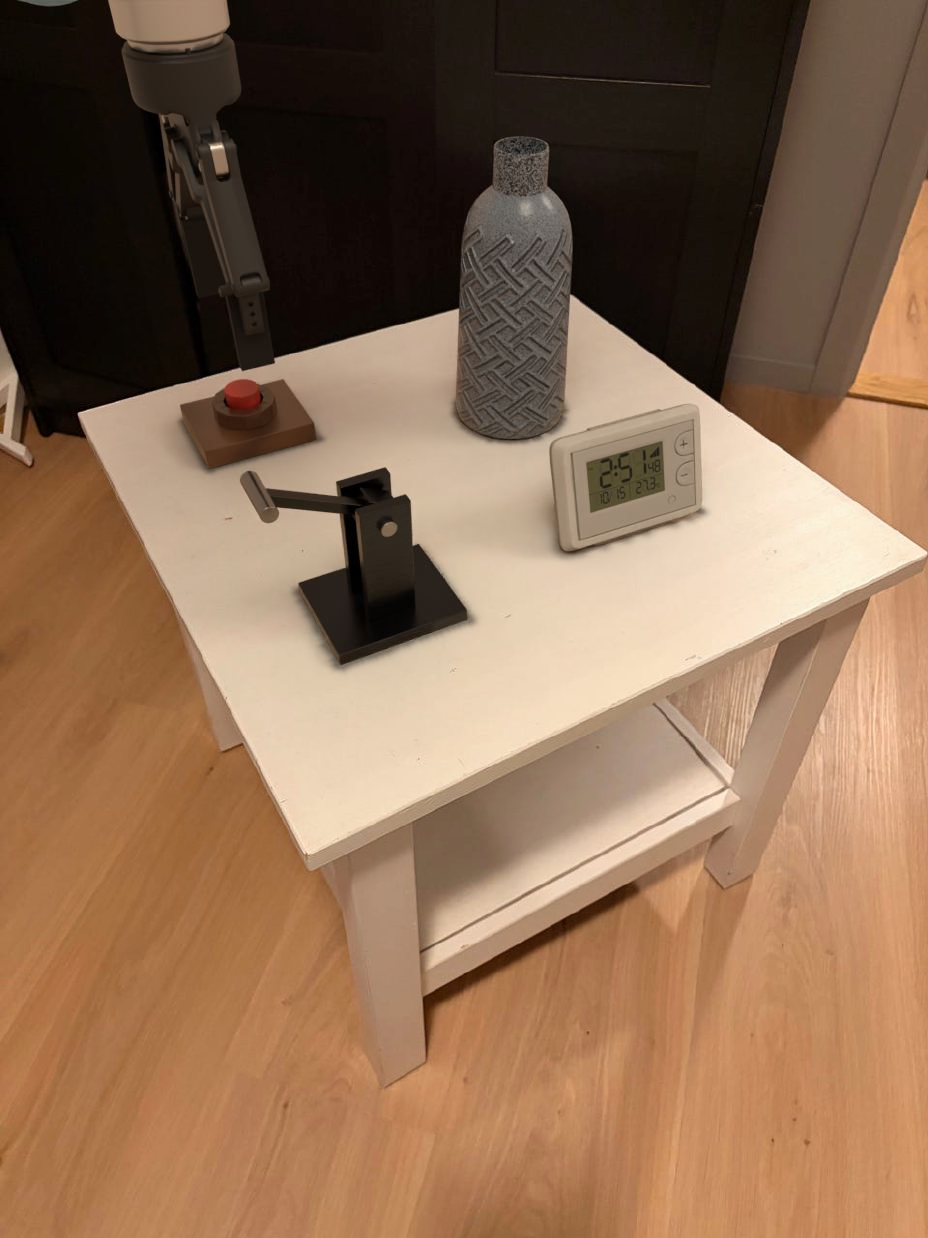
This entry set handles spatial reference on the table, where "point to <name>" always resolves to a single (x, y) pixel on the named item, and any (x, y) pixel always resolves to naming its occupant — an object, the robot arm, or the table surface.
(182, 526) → the table surface
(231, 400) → the button
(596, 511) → the digital clock
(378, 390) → the table surface
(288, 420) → the button block
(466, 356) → the vase
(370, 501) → the lever
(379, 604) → the bracket
